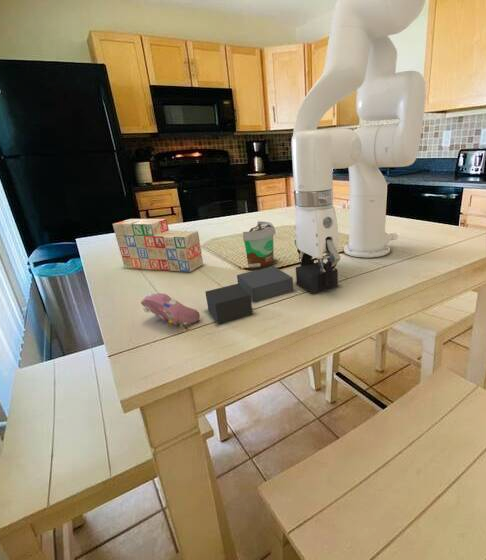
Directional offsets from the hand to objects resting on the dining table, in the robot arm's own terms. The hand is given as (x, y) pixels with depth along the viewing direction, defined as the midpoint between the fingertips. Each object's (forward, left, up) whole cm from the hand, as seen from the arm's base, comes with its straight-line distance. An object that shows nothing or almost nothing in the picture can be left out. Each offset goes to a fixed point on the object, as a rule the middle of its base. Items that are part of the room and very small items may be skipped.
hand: (316, 282), depth 72 cm
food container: (+3, -20, -1) cm, 20 cm away
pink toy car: (+30, -2, -1) cm, 30 cm away
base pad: (+10, -5, -1) cm, 11 cm away
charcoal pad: (0, 0, -1) cm, 1 cm away
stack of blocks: (+26, -36, -1) cm, 44 cm away
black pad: (+20, +1, -1) cm, 20 cm away
